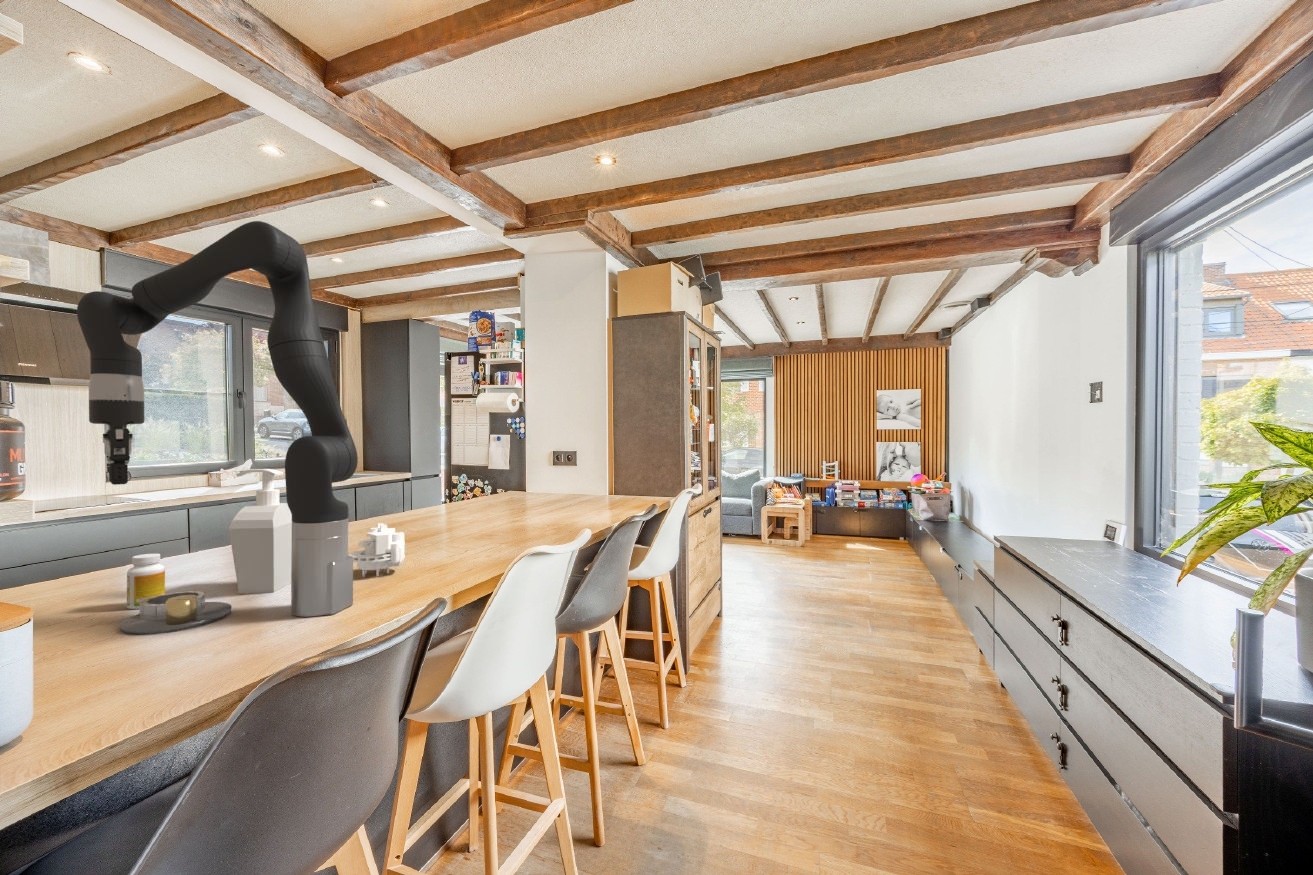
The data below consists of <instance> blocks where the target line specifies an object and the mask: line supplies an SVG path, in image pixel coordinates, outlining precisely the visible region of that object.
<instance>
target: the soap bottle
mask: <svg viewBox="0 0 1313 875" xmlns="http://www.w3.org/2000/svg"><path fill="white" fill-rule="evenodd" d="M251 473H262V476H261V478H262V479H261V481H262V482H261V484H262V488H261V489H257V490H255V492H256V493H255V497H256V499H255V501H256V502H255V503H253V504H249V505H245V506H244V507H242V508H241V509H240V510H239V511H238V512H237V514H236V515H235V516H234V518H233V519H232V520H231V522H230V525H229V527H228V531H229V540H230V545H231V551H232V557H233V558H232V559H233V564H234V565H233V566H234V570H235V576H236V582H237V590H238V594H265V593H266V594H267V593H269V594H272V593H276V592H277V591H279V590H282V589H283V588H284V587H286V586H289V585H290V584H291V553H292V514H291V511H290V509H289V507H288V504H287V502H280V492H281V491H280V489H278V488H277V489H275V487H274V486H275V484H274V483H275V482H274V480H275V477H278V476H283V475H284V472H283V471H280V470H279V469H278V470H277V469H272V468H257V469H256V468H254V469H247V470H243V471H240V472H239V473H237V474H235V475H236V477H238V478H239V477H243V476H245V475H247V474H251Z"/></svg>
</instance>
